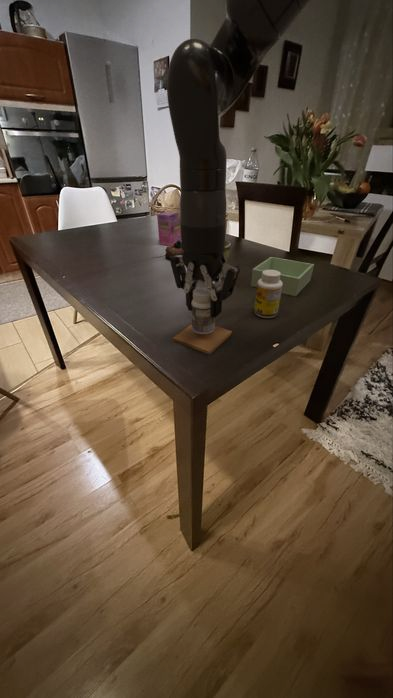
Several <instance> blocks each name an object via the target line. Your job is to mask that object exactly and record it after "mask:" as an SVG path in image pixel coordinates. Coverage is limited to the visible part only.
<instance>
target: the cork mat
mask: <svg viewBox="0 0 393 698" xmlns="http://www.w3.org/2000/svg"><path fill="white" fill-rule="evenodd" d="M231 335H233V331H232V330H230V329H226V328H223V327H220V326H218V325H215V329H214V331H213V332H211V333H208V334H199V333H196V332H194V331H193V329H192V323H191V324H189V325H188V326H187V327H186V328H184V329H183V330H181V331H180V332H178V333H177V334H176V335H174V336H173V337H172V341H173V342H174V343H175V342H176V343H177V344H180V345H182V346H185V347H188V348H191V349H193V350H196V351H199V352H201V353H203V354H206V355H208V356H209V355H211V354H212V353H213V352H215V350H216V349H218V348H219V347H220V346H221V345H222V344H223V343H224V342H226V340H228V339H229V337H230V336H231Z"/></svg>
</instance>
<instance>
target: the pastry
mask: <svg viewBox="0 0 393 698" xmlns="http://www.w3.org/2000/svg"><path fill="white" fill-rule="evenodd" d="M183 252H184V251H183V250H182V246H181V240H178V241H177V242H176V243H174V244H173V245H171V246H166V248H165V254H164V255H165V260H168V261H170V258H172V257H174V256H176V255H179V254H181V255H183Z"/></svg>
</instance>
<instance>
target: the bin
mask: <svg viewBox="0 0 393 698" xmlns="http://www.w3.org/2000/svg"><path fill="white" fill-rule="evenodd" d="M314 267H315V264H314V263H309V262H303V261H297V260H292V259H288V258H287V259H285V258H280V257H274V256H270V257H268V258H267V259H265V260H263V261H262V262H261V263H259V264H258V265H257V266H254V267H253V268H252V272H251V280H250V287H253V288H257V283H258V280H259V279H261V278H262V272H263V271H264V270H276V271H279V272H280V273H281V275H280V280H281V281H282V283H283V286H282V292H281V294H282V295H283V294H284V295H288V296H292V297H297V296H298V295H299V294H300V292H301V291H303V289H304V288H305V287H306V286H307V285H308V284H309V283H310V282H311V280H312V275H313V272H314Z"/></svg>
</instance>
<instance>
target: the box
mask: <svg viewBox="0 0 393 698" xmlns="http://www.w3.org/2000/svg"><path fill="white" fill-rule="evenodd" d="M156 215H157V216H156V218H157V230H158V242H159V243H158V245H160V246H166V247H169V246H171V245H173V244H174V243H176V242H177V241H178V240H180V241H181V224H180V209H179V210H178V209H169V210H166V211H163V212H160V213H157V214H156Z"/></svg>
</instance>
